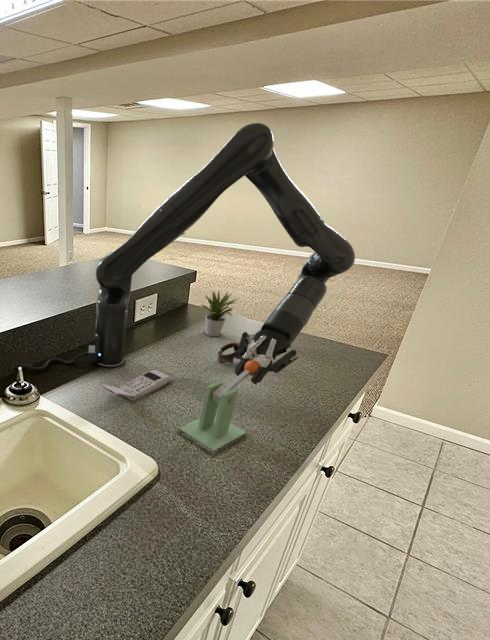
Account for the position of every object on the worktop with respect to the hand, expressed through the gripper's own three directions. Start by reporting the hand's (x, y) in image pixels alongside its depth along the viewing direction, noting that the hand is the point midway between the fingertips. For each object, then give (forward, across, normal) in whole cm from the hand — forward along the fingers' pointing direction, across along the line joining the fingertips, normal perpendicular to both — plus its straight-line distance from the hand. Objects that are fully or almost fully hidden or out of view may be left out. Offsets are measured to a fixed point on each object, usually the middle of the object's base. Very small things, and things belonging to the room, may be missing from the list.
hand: (245, 378), depth 92 cm
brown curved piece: (-11, -20, +29) cm, 37 cm away
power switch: (+15, 0, +3) cm, 15 cm away
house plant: (-21, -40, +39) cm, 60 cm away
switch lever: (+3, 0, -1) cm, 3 cm away
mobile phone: (+16, -24, +3) cm, 29 cm away
